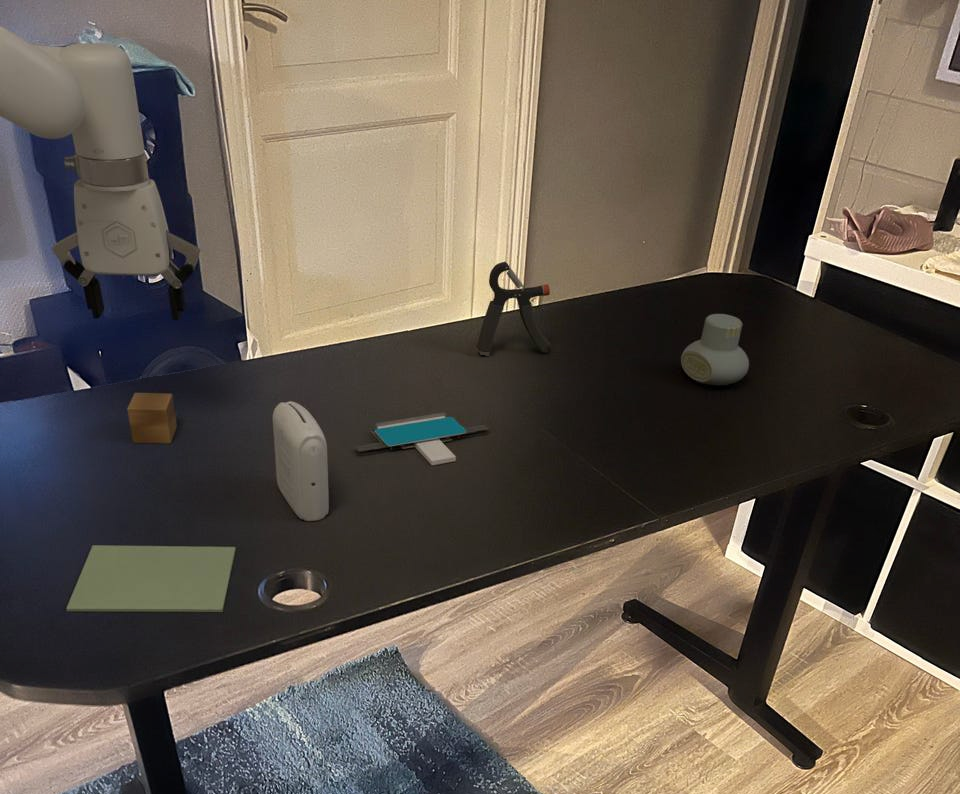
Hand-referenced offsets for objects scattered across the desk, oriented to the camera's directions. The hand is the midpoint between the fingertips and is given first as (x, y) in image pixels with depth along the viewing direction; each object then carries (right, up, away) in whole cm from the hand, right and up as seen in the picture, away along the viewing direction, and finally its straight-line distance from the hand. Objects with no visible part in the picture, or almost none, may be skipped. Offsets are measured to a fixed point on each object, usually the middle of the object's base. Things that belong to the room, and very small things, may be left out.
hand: (138, 315), depth 123 cm
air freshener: (+81, +2, +37) cm, 90 cm away
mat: (+7, -34, -16) cm, 39 cm away
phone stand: (+36, -14, +13) cm, 41 cm away
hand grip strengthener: (+49, +7, +40) cm, 64 cm away
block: (-1, -13, +10) cm, 17 cm away
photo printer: (+21, -24, -1) cm, 32 cm away
